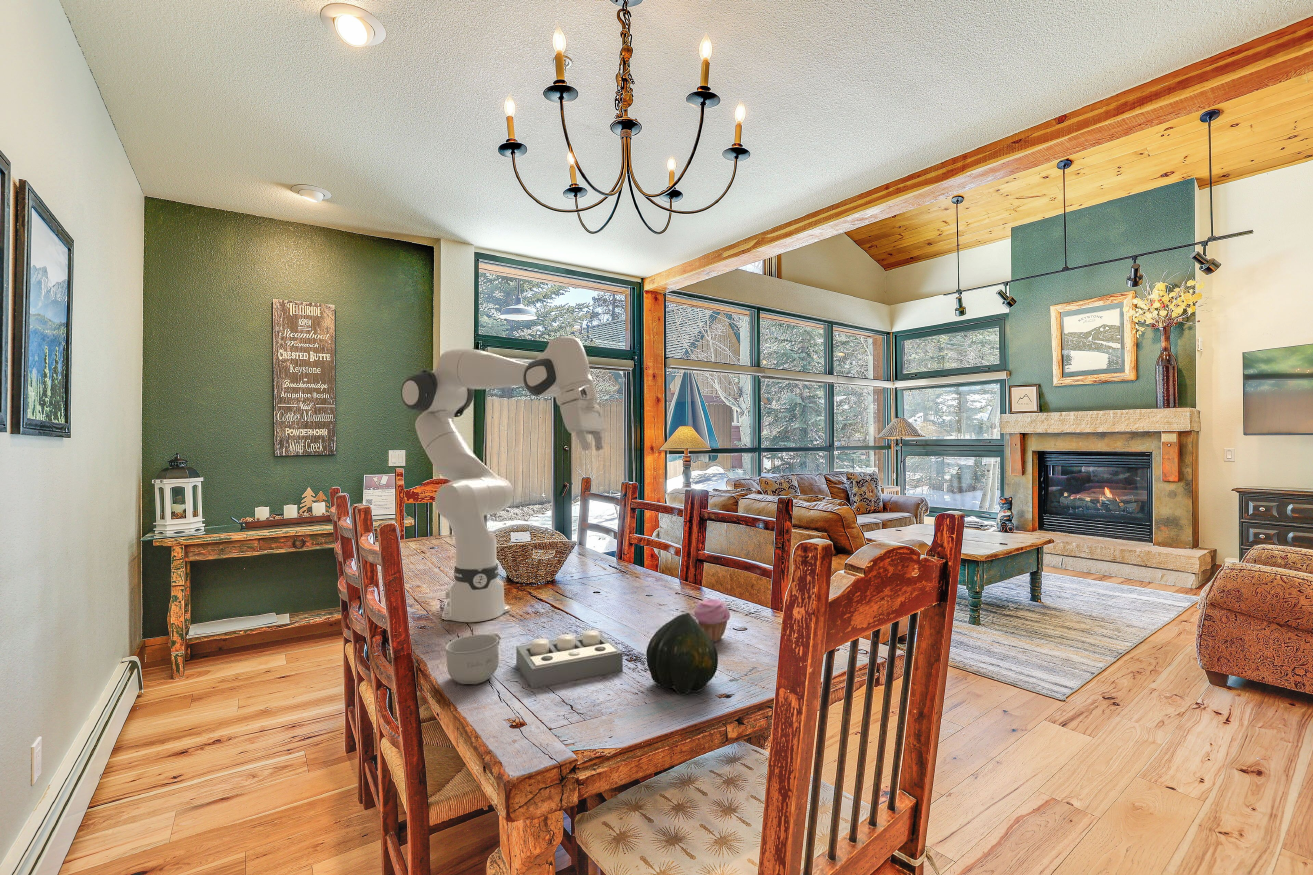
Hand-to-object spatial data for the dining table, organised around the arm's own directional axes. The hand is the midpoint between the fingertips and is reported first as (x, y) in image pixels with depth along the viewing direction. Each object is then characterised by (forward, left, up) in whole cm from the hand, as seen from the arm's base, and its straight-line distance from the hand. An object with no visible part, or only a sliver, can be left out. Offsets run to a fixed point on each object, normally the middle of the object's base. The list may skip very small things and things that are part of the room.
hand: (593, 450), depth 147 cm
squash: (+33, +7, -48) cm, 58 cm away
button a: (+12, -17, -45) cm, 49 cm away
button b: (+12, -11, -45) cm, 47 cm away
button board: (+14, -11, -48) cm, 51 cm away
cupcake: (+13, +27, -48) cm, 56 cm away
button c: (+12, -5, -45) cm, 46 cm away
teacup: (+10, -30, -48) cm, 57 cm away
